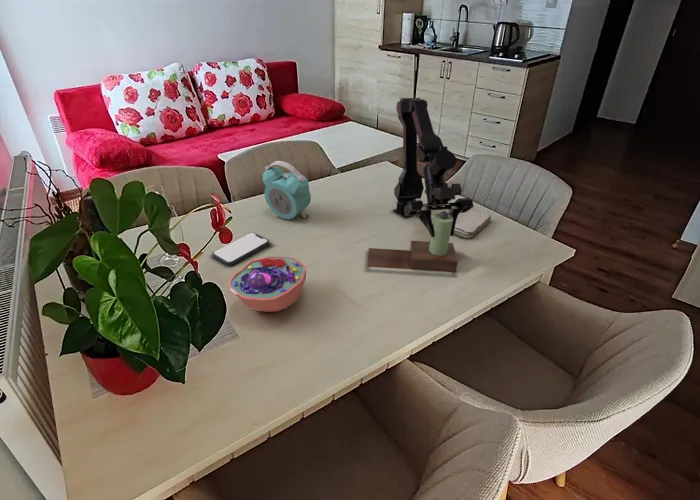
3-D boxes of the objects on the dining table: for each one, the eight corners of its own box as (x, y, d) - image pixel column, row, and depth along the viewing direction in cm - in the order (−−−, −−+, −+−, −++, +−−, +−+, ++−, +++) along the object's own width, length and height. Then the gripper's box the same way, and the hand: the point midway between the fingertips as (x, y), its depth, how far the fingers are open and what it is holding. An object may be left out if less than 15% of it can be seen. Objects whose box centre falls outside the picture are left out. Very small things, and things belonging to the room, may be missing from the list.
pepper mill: (431, 244, 128) (437, 205, 121) (448, 248, 126) (455, 209, 119) (427, 253, 124) (433, 213, 117) (445, 257, 122) (452, 217, 115)
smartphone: (230, 268, 124) (271, 244, 134) (229, 263, 123) (270, 240, 133) (210, 257, 128) (252, 235, 139) (209, 252, 127) (251, 231, 138)
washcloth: (436, 229, 146) (437, 221, 144) (459, 210, 158) (461, 202, 156) (469, 241, 140) (470, 233, 138) (490, 220, 152) (492, 213, 150)
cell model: (322, 299, 113) (322, 263, 107) (258, 337, 101) (254, 299, 95) (282, 271, 123) (279, 237, 117) (219, 303, 111) (213, 266, 104)
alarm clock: (316, 216, 151) (315, 162, 140) (299, 227, 144) (297, 171, 133) (278, 203, 158) (274, 151, 147) (260, 213, 151) (255, 159, 141)
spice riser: (368, 252, 133) (369, 238, 130) (450, 256, 132) (453, 242, 129) (367, 270, 124) (368, 256, 122) (455, 276, 123) (457, 261, 120)
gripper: (411, 173, 115) (418, 230, 111) (477, 171, 117) (486, 226, 114) (400, 188, 125) (407, 240, 122) (461, 185, 128) (469, 236, 125)
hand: (442, 236), depth 121 cm, fingers closed on pepper mill, 5 cm apart
